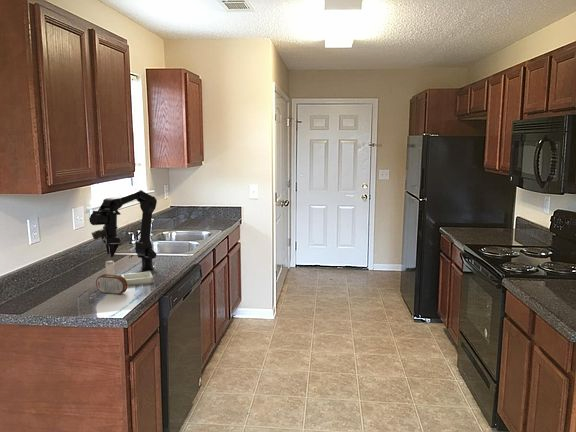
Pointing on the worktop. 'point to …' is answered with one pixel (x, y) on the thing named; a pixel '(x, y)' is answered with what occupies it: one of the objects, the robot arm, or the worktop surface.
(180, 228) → the worktop surface
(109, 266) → the cream block
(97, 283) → the tin
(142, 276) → the tray
